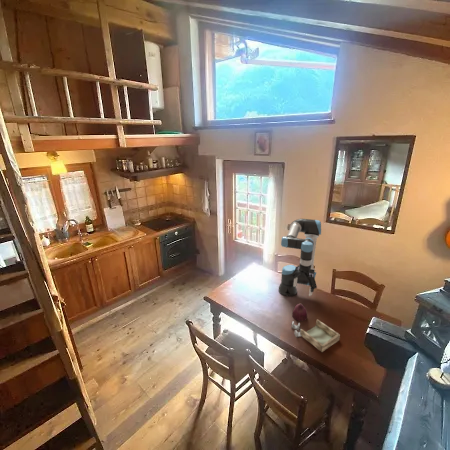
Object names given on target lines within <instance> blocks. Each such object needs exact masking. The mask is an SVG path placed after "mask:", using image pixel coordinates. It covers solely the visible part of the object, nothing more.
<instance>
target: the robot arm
mask: <svg viewBox="0 0 450 450" xmlns="http://www.w3.org/2000/svg"><path fill="white" fill-rule="evenodd" d="M299 233H304V235H303V236H304V237H305V238H299ZM320 235H322V222H321V221H320V220H318V219H309V218H298V219H296V220H294V221H292V222H291V223H290V225H289V230H288V232H287V234H286V236H282V237H281V240H280V246H281V247H282V248H288V249H296V250H300V258H299V265H297V266H295V265H294V264H293V265H292V264H287V265H284V266H282V269H281V279H280V281H281V282H280V284H279V286H278V292H279V294H281V295H282V296H284V297H295V296H296V295H297V292H298V290H297V289H298V288H297V285H298V284H299V285H304V286H308V287H309V290H308V296H309V297H311V296H312V295H313V292H314V291H315V289H317V288H318V286H317V283H316V276H317V272H316V269H315V268H314V263H315V255H316V248H317V247H316V246H317V239H318V238H319V237H320Z"/></svg>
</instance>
